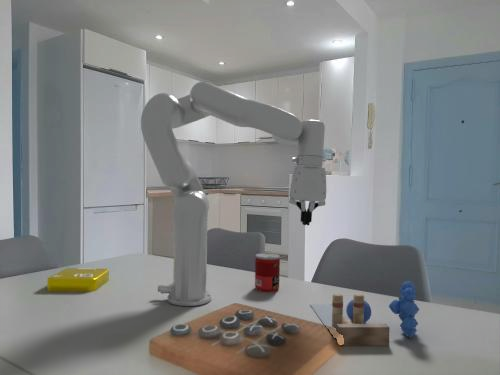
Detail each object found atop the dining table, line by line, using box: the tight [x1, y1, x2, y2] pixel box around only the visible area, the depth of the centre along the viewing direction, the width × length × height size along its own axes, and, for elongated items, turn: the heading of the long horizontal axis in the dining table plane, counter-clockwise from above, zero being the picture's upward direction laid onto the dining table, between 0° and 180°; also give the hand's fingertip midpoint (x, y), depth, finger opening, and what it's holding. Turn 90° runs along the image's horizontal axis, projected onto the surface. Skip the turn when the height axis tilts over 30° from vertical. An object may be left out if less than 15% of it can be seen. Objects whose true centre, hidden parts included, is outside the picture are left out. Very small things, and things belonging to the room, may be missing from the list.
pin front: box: [342, 317, 353, 324], centre depth 89 cm, size 2×2×8 cm
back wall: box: [336, 323, 390, 347], centre depth 83 cm, size 11×2×4 cm, turn 94°
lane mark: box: [309, 303, 353, 327], centre depth 97 cm, size 9×24×1 cm, turn 4°
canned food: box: [254, 252, 281, 293], centre depth 125 cm, size 8×8×11 cm
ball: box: [345, 298, 372, 324], centre depth 95 cm, size 6×6×6 cm
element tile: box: [46, 267, 110, 293], centre depth 124 cm, size 15×15×5 cm
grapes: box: [388, 280, 420, 338], centre depth 89 cm, size 12×7×12 cm, turn 163°
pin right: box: [353, 293, 365, 324], centre depth 90 cm, size 2×2×8 cm
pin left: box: [331, 293, 344, 328], centre depth 89 cm, size 2×2×8 cm
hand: (305, 224), depth 113 cm, fingers closed
